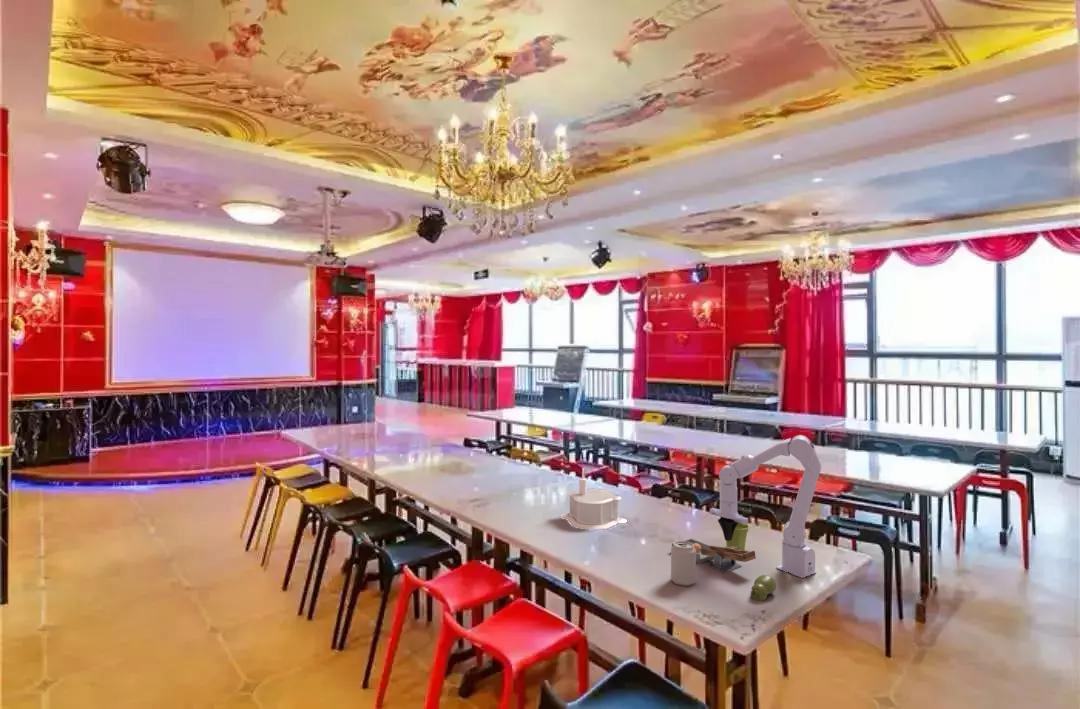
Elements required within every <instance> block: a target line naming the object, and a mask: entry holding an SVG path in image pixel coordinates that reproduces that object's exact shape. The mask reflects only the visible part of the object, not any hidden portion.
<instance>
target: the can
mask: <svg viewBox="0 0 1080 709" xmlns="http://www.w3.org/2000/svg"><path fill="white" fill-rule="evenodd" d="M696 571H697V562H696V549H695V548H694V545H693V544H692V543H690V542H686V541H683V540H677V541H674V542H673V546H672V545H671V548H670V579H671V580H672V581H673V583H674V584H675V583H676V585H677V584H678V586H681V587H690V586H692V585H693V584H694V583H696V581H697V578H696V576H697V575H696V573H697V572H696Z"/></svg>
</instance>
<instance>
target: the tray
mask: <svg viewBox="0 0 1080 709" xmlns="http://www.w3.org/2000/svg"><path fill="white" fill-rule="evenodd" d="M682 541H686V542H690V543H692V544H694V543H697V544H699V545H700V546H701V548H704V549H710V546H712V545H711V544H707V543H705V542H703V541H700V540H697V539H695V538H687V539H683V540H682ZM673 543H674V542H673ZM673 543H671V547H672V546H673ZM710 560H714V556H708V555H702V554H701V552H700V553H696V564H701V563H703V562H707V561H710Z"/></svg>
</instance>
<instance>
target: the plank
mask: <svg viewBox="0 0 1080 709" xmlns="http://www.w3.org/2000/svg"><path fill="white" fill-rule="evenodd" d="M737 549H739V547H735V546H730V547H727V546H726V547H723V546H717V545H711V546H710V549H704V548H701V554H702V555H708V556H714V554H715V553H716V554H719V555H721V558H725V559H731V560H736V562H737V561H738V562H744V563H745V562H750V561H752V560H756V559H757V557H756V551H755V550H745V549H744V550H737Z"/></svg>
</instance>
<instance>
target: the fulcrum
mask: <svg viewBox="0 0 1080 709" xmlns="http://www.w3.org/2000/svg"><path fill="white" fill-rule="evenodd" d="M708 567H709V568H711V569H714V570H716V571H719V572H720V573H723V574H724V573H727V572H729V571H733V570H735V569H736V570H737V569H738V568H741V567H742V564H740V563H738V562H737V560H731V559H725V558H721V555H719V554H716V553H715V554H714V559H713V563H710V564H708Z"/></svg>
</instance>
